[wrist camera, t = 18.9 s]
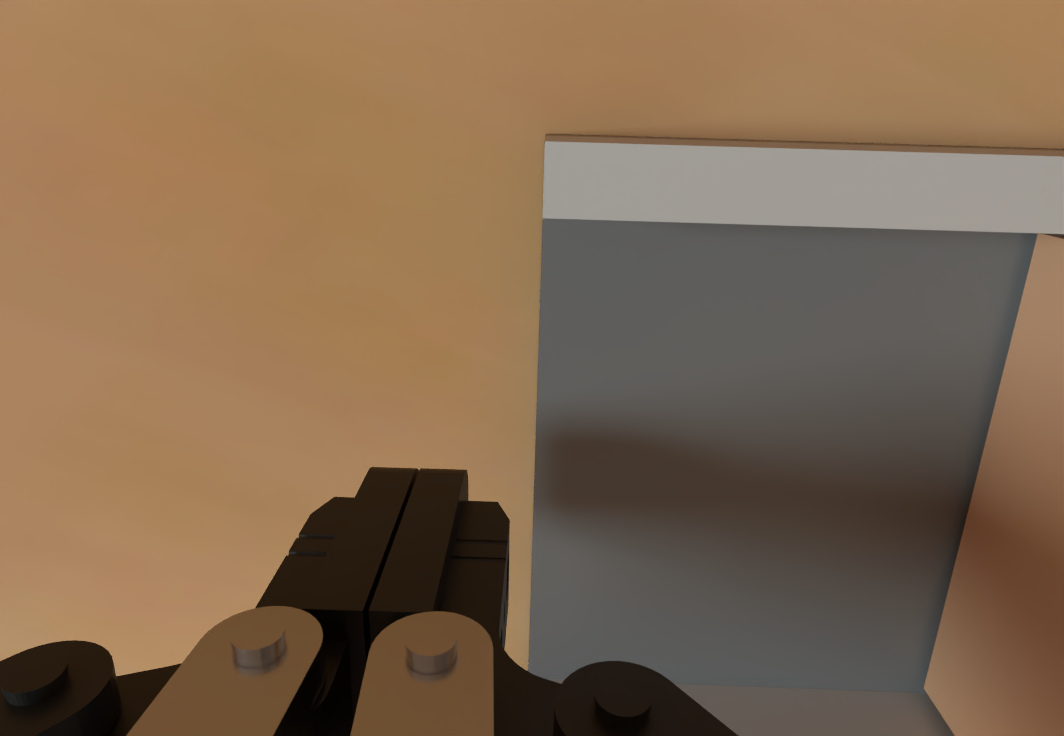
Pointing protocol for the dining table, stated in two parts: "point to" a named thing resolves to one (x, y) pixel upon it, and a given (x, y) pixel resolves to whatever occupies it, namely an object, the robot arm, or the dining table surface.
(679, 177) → the tray
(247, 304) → the dining table surface
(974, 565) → the block
